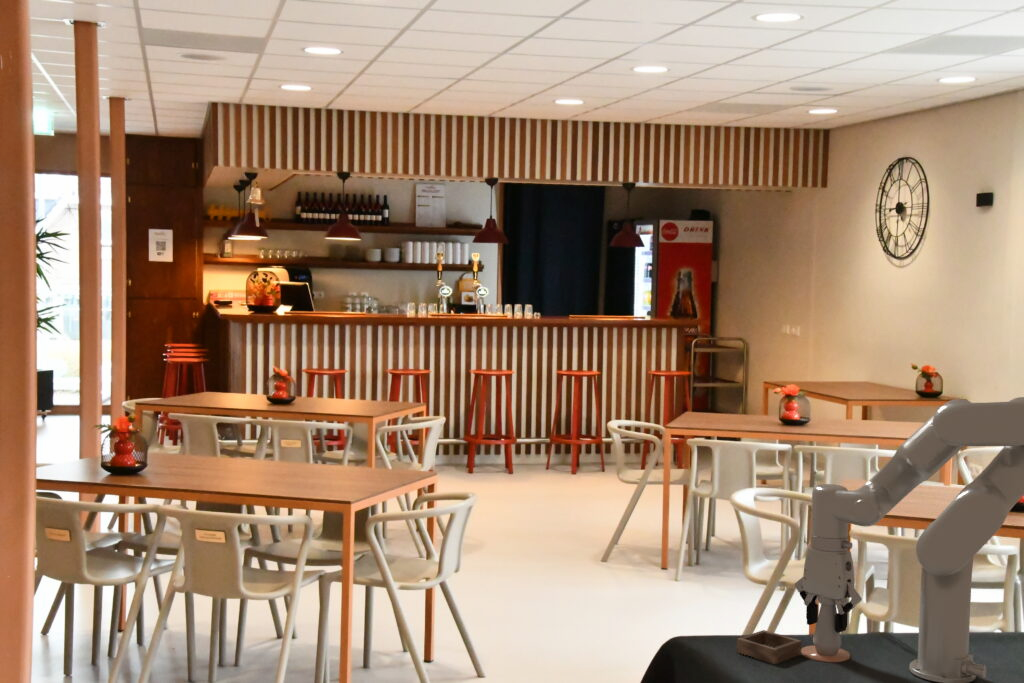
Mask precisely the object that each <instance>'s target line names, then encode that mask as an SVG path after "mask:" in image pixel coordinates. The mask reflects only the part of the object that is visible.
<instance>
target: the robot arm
mask: <svg viewBox="0 0 1024 683" xmlns="http://www.w3.org/2000/svg"><path fill="white" fill-rule="evenodd" d="M964 447H1002V449H1001V450H1000V451H999V452H998V453H997V454H996V456H995V457H994V458H993V459H992V460H991V461H990V463H989V464H988V465H987V466H986V467H985V468H984V469H983V470H982V471H981V472H980V473H979V474H978V476H977V477H975V478H974V479H973V480H972V481H971V482H970V483H968V484H967V485H965V487H964V488H962V489H961V490H960V492H959V493H958V494H957V495H956V496H955V497H954V498H953V499H952V501H951V502H950V503H949V504H948V505H947V507H946V508H945V509H944V510H943V511H942V512H941V513H940V514H939V515H938V516H937V517H936V519H934V520H933V521H932V522H930V524H928V525H927V526H926V528H925V529H924V530H923V531H922V533H921V534H920V536H919V537H918V538H917V541H916V546H915V553H916V558H917V560H918V562H919V564H920V566H921V574H920V575H921V578H920V595H919V614H918V615H919V617H918V618H919V620H918V644H917V645H918V646H917V659H914V660H911V662H909V671H910V672H911V673H912V674H913V675H915V676H917V677H919V678H921V679H924V680H927V681H930V682H936V683H971V682H973V681H975V680H976V677H978V678H982V679H985V678H986V677H987V673H988V672H987V666H986V665H985V664H984V665H983V664H981V663H976V662H975V661H974V654H970V653H969V651H970V649H969V647H970V623H971V619H970V618H971V600H972V582H973V581H972V577H973V567H974V557H975V555H976V554H977V553H978V552H979V551H980V550H981V549H982V548H983V547H984V546H985V545H986V544H987V543H988V542H989V541H990V540H991V539H992V537H994V536H995V534H996V533H997V532H998V531H999V530H1000V529H1001V527H1002V526H1003V525H1004V523H1005V521H1006V519H1007V517H1008V515H1009V513H1010V511H1011V510H1012V509H1013V508H1014V506H1015V505H1016V504H1017V503H1018V502H1019V501H1020V499H1022V498H1023V497H1024V396H1019V397H1015V398H1012V399H1011V400H1009V401H993V402H991V401H989V402H972V401H969V400H967V399H963V398H953V399H951V400H949V401H947V402H945V403H944V404H943V405H941V406H939V408H938V409H937V410H936V411H935V412H934V414H932V415H931V417H930V418H929V419H927V420H926V421H925V422H924V423H923V424H922V425H921V426H920V427H919V428H918V429H917V430H915V432H913V433H912V434H911V435H910V436H909V437H908V438H906V439H905V441H904V442H903V443H902V444H900V446H899V447H898V448H897V449H896V451H895V453H894V454H893V456H892V457H891V459H890V460H889V461H887V463H886V464H885V465H884V466H882V468H881V469H879V470H878V471H877V472H876V474H874V475H873V476H872V477H871V478H870V479H869V480H868V481H866V482H865V483H864V484H863V485H862V486H861V487H859V488H858V489H855V490H849V489H847V487H845V486H843V485H840V484H832V483H822V484H817V485H815V486H814V487H813V488H812V493H811V515H810V516H811V518H810V519H811V521H810V546H808V547H807V551H806V555H805V560H804V566H803V575H802V577H801V578H800V579H798V580H797V581H796V582H795V583H794V587H795V589H796V590H797V592H798V593H799V595H800V597H801V599H802V600H803V604H804V605H805V606H806V611H805V612H806V616H805V618H806V625H808V626H810V625H813V624H817V620H818V615H819V604H818V603H816V602H817V601H818V596H823V597H827V598H829V599H833V600H835V603H836V610H837V614H836V620H835V631H836V632H837V633H840V634H841V633H842V632H845V631H846V630H847V627H848V614H849V613H850V612H851V610H853V609H854V608H855V607H856V606H858V604H860V603H861V602H862V599H863V598H862V597H861V595H860V593H858V590H856V588H855V570H854V560H853V557H852V551H848V550H849V549H852V548H853V543H852V542H850V541H849V535H848V534H849V524H851V525H855V526H860V527H872V526H874V525H876V524H878V523H879V522H880V521H881V520H882V519H883V518H884V517H885V516H887V515H888V514H889V512H891V511H892V510H893V509H894V508H895V507H896V506H897V505H898V504H900V502H901V501H902V500H904V498H905V497H907V496H908V495H909V494H910V493H911V492H913V490H915V488H917V487H918V486H919V485H920V484H922V483H923V482H925V481H928V480H929V479H930V478H932V477H933V476H934V475H935V474H936V473H937V472H938V471H939V470H940V469H941V468H942V467H944V466H945V465H946V463H948V462H949V461H950V460H952V458H953V457H955V456H956V454H958V453H959V452H960V451H961V450H962V449H963V448H964ZM848 598H850V600H848Z"/></svg>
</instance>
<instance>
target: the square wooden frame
mask: <svg viewBox="0 0 1024 683" xmlns="http://www.w3.org/2000/svg"><path fill="white" fill-rule="evenodd" d="M764 644H766V645H770V646H773V647H775V648H773V647H769V646H766V645H764ZM801 649H802V640H799V639H796V638H793V637H789V636H786V635H783V634H779V633H776V632H772V631H768V630H764V629H762V630H759V631H757V632H753V633H749V634H747V635H745V636H741V637H738V638H736V653H737V654H740V653H741V654H740V655H743V654H744V655H743V656H746V655H748V656H747V657H749V656H751V657H750V658H752V657H754V658H753V659H757V660H760V661H762V662H766V663H769V664H773V665H777V664H779V663H782V662H785V661H788V660H790V658H791V659H793V658H796V657H799V656H801V655H802V654H801ZM798 655H799V656H798ZM787 659H788V660H787Z"/></svg>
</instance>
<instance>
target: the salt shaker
mask: <svg viewBox="0 0 1024 683" xmlns="http://www.w3.org/2000/svg"><path fill="white" fill-rule="evenodd" d="M817 601H818V603H819V604H820V607H819V610H818V620H817V623H815V624H816V625H815V629H814V633H813V638H812V643H813V645H814V646H815V649H816V651H817V653H818V654H821V655H824V656H834V655H836V654H837V653H838V651H839V649H841V647H842V638H841V632H840V633H837V632H836V631H835V620H836V614H837V613H838V609H837V606H836V603H835V600H833V599H829V598H827V597H823V596H818V599H817Z"/></svg>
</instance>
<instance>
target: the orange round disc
mask: <svg viewBox="0 0 1024 683" xmlns="http://www.w3.org/2000/svg"><path fill="white" fill-rule="evenodd" d="M801 653H802V654H801V655H802V656H803V657H805V658H807V659H809V660H813V661H817V662H821V663H822V662H824V663H842V662H846V661H848V660H850V658H851V654H850V652H849V651H847V650H845V649H843V648H840V649H839V651H838V653H837V654H836V655H834V656H824V655H821V654H818V653H817V651H816V649H815V646H814V644H813V645H807V646H804V647H801Z"/></svg>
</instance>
